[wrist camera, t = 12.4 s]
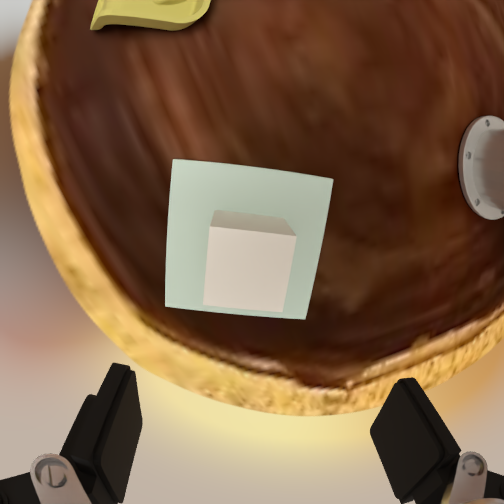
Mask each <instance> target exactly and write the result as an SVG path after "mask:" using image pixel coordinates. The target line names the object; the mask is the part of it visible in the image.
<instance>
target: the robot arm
mask: <svg viewBox="0 0 504 504" xmlns="http://www.w3.org/2000/svg"><path fill="white" fill-rule="evenodd" d="M458 167H459V178H460V183H461V188H462V191H463V194H464V197H465V199H466V201H467V203H468V205H469V206H470V207H471V209H472V210H473V211H474V212H475V213H476V214H478V215H479V216H481V217H483V218H486V219H490V220H496V219H499V218H502V217H503V216H504V121H503V120H501V119H500V118H497V117H495V116H481V117H479V118H476V119H475V120H474V121H473V122H471V124H470V125H469V126H468V128H467V129H466V131H465V133H464V135H463V138H462V142H461V145H460V151H459V164H458ZM141 429H142V415H141V409H140V402H139V396H138V389H137V382H136V374H135V371H132V370H130V366H128V365H122V364H118V363H112V365H111V367H110V369H109V371H108V373H107V375H106V377H105V379H104V381H103V383H102V385H101V387H100V389H99V392H98V393H97V396H96V395H92V394H90V395H88V396H87V397H86V399H85V401H84V403H83V405H82V407H81V409H80V411H79V413H78V415H77V417H76V419H75V421H74V424H73V426H72V428H71V430H70V432H69V434H68V436H67V439H66V441H65V443H64V445H63V447H62V450H61V452H60V454H59V455H57V454H44V455H41V456H39V457H37V458H36V459H35V460H34V461H33V463H32V465H31V469H30V472H28V473H25V474H21V475H18V476H14V477H10V478H7V479H3V480H0V504H118V503H123V500H124V496H125V492H126V487H127V484H128V480H129V476H130V471H131V467H132V463H133V460H134V456H135V452H136V448H137V444H138V440H139V437H140V433H141ZM370 435H371V437H372V440H373V442H374V445H375V447H376V450H377V452H378V454H379V457H380V459H381V462H382V464H383V466H384V469H385V472H386V474H387V477H388V479H389V482H390V484H391V487H392V490H393V492H394V495H395V497H396V498H397V499H399V500H400V503H401V504H404V503H407V502H410V501H413V500H415V503H416V504H504V476H502V475H500V474H497V473H494V472H490V471H488V470H487V463H486V461H485V459H484V458H483V457H482V456H481V455H480V454H478V453H476V452H466V453H464V454H462V455H461V456H460V455H459V453H460V452H461V449H460V448H459V446H458V444H457V443H456V441H455V439H454V438H453V436H452V435H451V433H450V431H449V430H448V428H447V427H446V425H445V423H444V422H443V420H442V419H441V417H440V415H439V414H438V412H437V411H436V409H435V408H434V406H433V405H432V403H431V402H430V400H429V398H428V397H427V396H426V394H425V392H424V391H423V389H422V388H421V386H420V385H419V383H418V382H417V381H416V379H415V378H413V377H412V378H403V379H399V380H398V382H397V383H395V384H394V386H393V388H392V390H391V392H390V393H389V395H388V397H387V399H386V401H385V403H384V405H383V407H382V409H381V410H380V412H379V414H378V416H377V417H376V419H375V421H374V423H373V424H372V426H371V428H370Z"/></svg>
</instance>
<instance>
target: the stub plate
mask: <svg viewBox="0 0 504 504" xmlns="http://www.w3.org/2000/svg"><path fill="white" fill-rule="evenodd" d="M332 185H333V179H331V178H326V177H320V176H314V175H308V174H302V173H296V172H289V171H282V170H275V169H268V168H260V167H253V166H245V165H236V164H227V163H217V162H207V161H196V160H184V159H173V165H172V175H171V186H170V199H169V213H168V229H167V249H166V281H165V306H166V307H174V308H182V309H191V310H200V311H209V312H219V313H229V314H240V315H251V316H264V317H277V318H292V319H305V318H306V314H307V310H308V306H309V301H310V297H311V292H312V288H313V283H314V279H315V274H316V270H317V265H318V260H319V255H320V250H321V245H322V240H323V235H324V230H325V225H326V219H327V214H328V208H329V202H330V197H331V191H332ZM215 210H222V211H231V212H240V213H248V214H257V215H265V216H273V217H281V218H284V219H285V221H286V222H287V223H288V225H289V226H290V227H291V229H292V230H293V232H294V233H295V234H296V236H297V238H296V244H295V249H294V255H293V260H292V266H291V271H290V276H289V281H288V287H287V292H286V297H285V302H284V307H283V312H272V311H259V310H248V309H237V308H227V307H217V306H208V305H203V297H204V284H205V272H206V260H207V249H208V238H209V228H210V224H211V221H212V218H213V215H214V211H215Z"/></svg>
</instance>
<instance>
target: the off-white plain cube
mask: <svg viewBox="0 0 504 504" xmlns="http://www.w3.org/2000/svg"><path fill="white" fill-rule="evenodd" d="M296 238H297V236H296V234H295V233H294V232H293V230H292V229H291V227H290V226H289V225H288V223H287V222H286V221H285V219H284V218H281V217H273V216H265V215H257V214H248V213H240V212H231V211H222V210H215V211H214V215H213V218H212V221H211V224H210V228H209V238H208V249H207V260H206V272H205V284H204V297H203V305H208V306H217V307H227V308H237V309H248V310H259V311H272V312H283V307H284V302H285V297H286V292H287V287H288V281H289V276H290V271H291V266H292V260H293V255H294V249H295V244H296Z"/></svg>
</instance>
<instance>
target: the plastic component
mask: <svg viewBox="0 0 504 504" xmlns="http://www.w3.org/2000/svg"><path fill="white" fill-rule="evenodd" d="M210 1H211V0H98V3H97V6H96V9H95V13H94V16H93V19H92V23H91V28H90V30H99V29H101V28H103V26H104V25H109V24H121V25H132V26H141V27H149V28H157V29H164V30H170V31H175V30H181V29H184V28H186V27H188V26H190V25H191V24H192V23H194V22H195V21H196V20H198V19H199V18H200V17H201V16H203V15H204V14H205V12H206V11H207V9H208V8H209V5H210Z"/></svg>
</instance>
